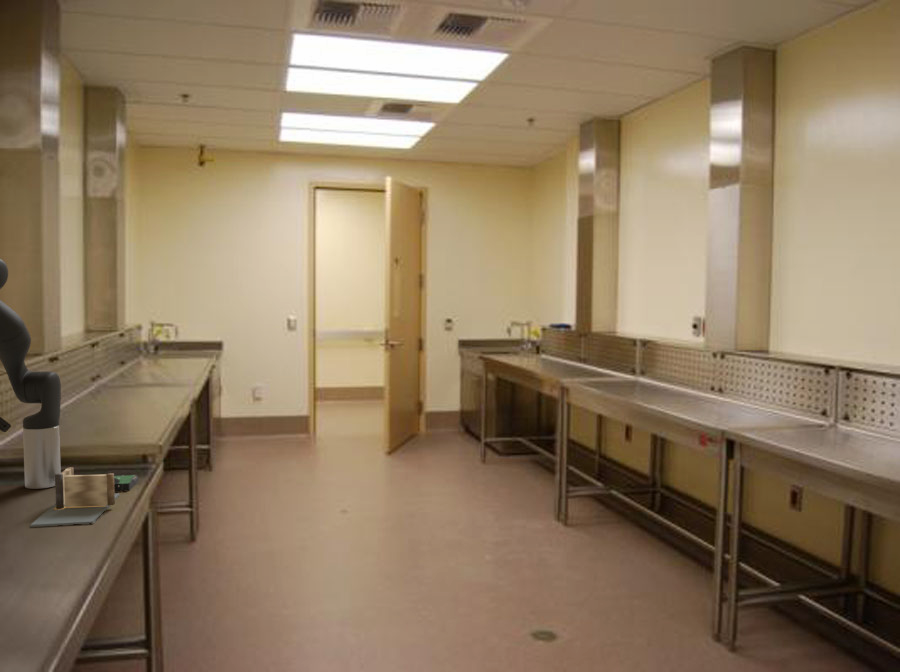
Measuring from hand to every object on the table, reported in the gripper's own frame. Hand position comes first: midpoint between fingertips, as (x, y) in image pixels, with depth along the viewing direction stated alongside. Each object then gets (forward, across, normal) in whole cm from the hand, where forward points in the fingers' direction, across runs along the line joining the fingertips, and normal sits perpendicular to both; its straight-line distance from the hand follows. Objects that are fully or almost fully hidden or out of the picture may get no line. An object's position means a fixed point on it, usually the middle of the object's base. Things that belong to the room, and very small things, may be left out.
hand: (7, 428), depth 174 cm
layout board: (+28, 0, +5) cm, 29 cm away
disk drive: (+40, +17, -5) cm, 43 cm away
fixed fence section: (+28, +7, +6) cm, 29 cm away
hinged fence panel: (+29, -1, +3) cm, 29 cm away
